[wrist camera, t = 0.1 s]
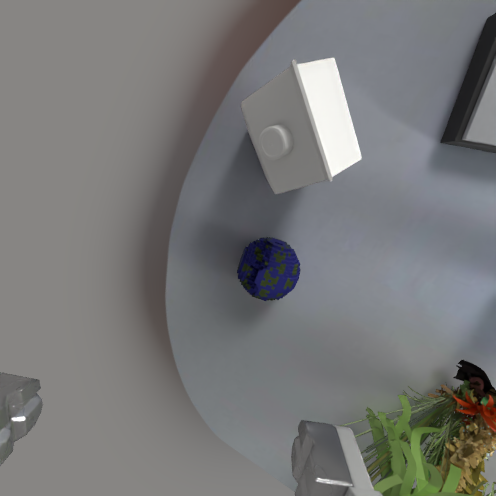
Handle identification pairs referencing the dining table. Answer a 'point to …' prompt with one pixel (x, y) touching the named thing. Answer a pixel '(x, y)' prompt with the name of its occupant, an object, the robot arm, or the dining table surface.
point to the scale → (477, 98)
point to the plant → (453, 456)
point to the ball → (268, 269)
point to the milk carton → (301, 126)
